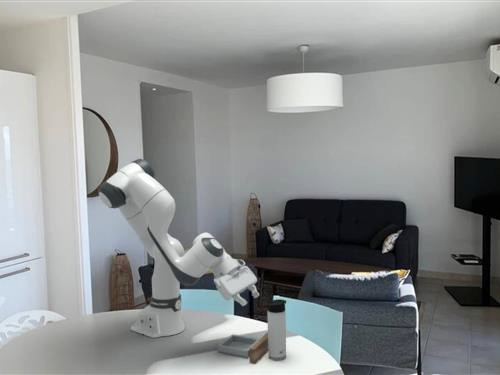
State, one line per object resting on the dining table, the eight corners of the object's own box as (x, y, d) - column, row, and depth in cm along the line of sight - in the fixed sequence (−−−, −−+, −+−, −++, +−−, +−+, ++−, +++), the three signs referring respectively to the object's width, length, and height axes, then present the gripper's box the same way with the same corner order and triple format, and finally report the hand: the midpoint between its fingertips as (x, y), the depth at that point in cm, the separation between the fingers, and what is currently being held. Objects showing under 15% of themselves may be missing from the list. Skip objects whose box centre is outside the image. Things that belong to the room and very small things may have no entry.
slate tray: (217, 352, 159) (217, 345, 158) (232, 340, 168) (232, 334, 168) (247, 358, 153) (247, 351, 153) (260, 346, 163) (260, 339, 163)
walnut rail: (249, 362, 150) (249, 348, 150) (270, 342, 166) (270, 329, 166) (255, 363, 149) (254, 349, 149) (275, 343, 165) (275, 330, 165)
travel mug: (286, 361, 151) (285, 303, 149) (267, 360, 152) (265, 303, 151) (288, 353, 157) (287, 298, 155) (269, 352, 158) (268, 297, 157)
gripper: (216, 272, 150) (243, 304, 146) (245, 259, 168) (269, 287, 164) (206, 283, 152) (231, 315, 148) (235, 269, 170) (258, 297, 167)
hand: (251, 300), depth 156 cm, fingers open, 8 cm apart
